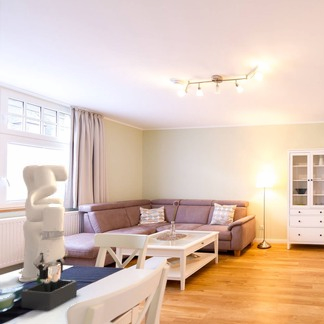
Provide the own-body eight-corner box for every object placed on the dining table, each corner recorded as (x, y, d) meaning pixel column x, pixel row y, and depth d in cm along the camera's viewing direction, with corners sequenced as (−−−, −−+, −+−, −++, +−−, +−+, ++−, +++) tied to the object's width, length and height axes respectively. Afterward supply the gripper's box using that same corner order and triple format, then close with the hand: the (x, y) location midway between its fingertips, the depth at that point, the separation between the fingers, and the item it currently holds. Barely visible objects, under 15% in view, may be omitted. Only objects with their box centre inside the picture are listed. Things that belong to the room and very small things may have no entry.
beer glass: (49, 304, 114) (51, 267, 115) (35, 302, 115) (37, 266, 116) (64, 296, 121) (65, 262, 122) (50, 295, 122) (52, 261, 123)
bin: (21, 307, 113) (22, 290, 113) (50, 293, 126) (51, 278, 126) (49, 310, 110) (50, 293, 110) (76, 296, 123) (77, 280, 124)
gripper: (62, 230, 129) (61, 268, 128) (26, 238, 112) (24, 282, 111) (76, 230, 127) (75, 269, 126) (41, 239, 110) (39, 284, 109)
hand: (51, 275), depth 119 cm, fingers closed on beer glass, 7 cm apart
